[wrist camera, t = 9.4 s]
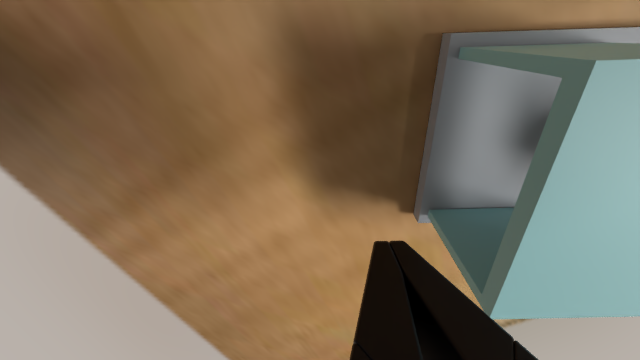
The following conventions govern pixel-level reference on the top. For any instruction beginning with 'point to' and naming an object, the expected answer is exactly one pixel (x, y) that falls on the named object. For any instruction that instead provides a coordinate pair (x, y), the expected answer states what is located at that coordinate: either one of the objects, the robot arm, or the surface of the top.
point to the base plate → (489, 119)
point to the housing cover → (563, 195)
